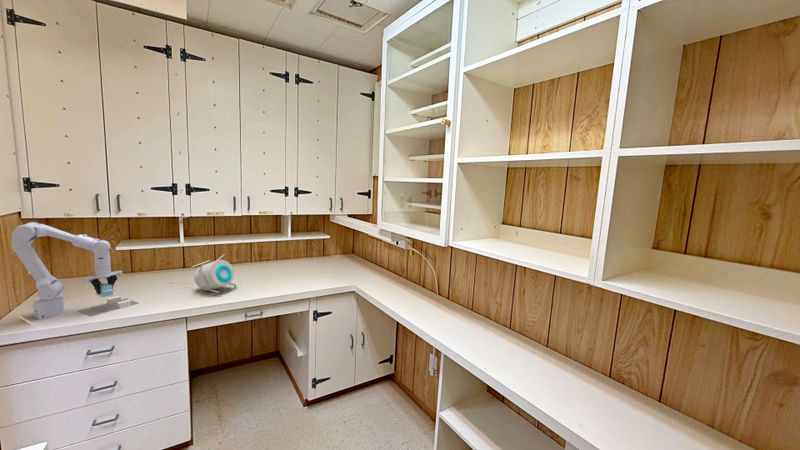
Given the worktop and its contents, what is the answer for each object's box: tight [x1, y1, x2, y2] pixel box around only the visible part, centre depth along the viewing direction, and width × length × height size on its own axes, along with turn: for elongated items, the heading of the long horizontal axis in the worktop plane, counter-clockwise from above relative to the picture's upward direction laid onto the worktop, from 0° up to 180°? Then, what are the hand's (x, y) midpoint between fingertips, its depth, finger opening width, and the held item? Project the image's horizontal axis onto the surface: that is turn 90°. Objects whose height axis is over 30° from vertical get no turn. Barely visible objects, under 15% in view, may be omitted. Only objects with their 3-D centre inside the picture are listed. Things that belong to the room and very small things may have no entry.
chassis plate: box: [77, 295, 140, 317], centre depth 163 cm, size 20×12×4 cm, turn 155°
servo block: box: [93, 282, 116, 298], centre depth 161 cm, size 4×10×6 cm, turn 64°
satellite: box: [191, 253, 238, 296], centre depth 196 cm, size 23×20×25 cm
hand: (104, 292), depth 161 cm, fingers closed on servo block, 4 cm apart
